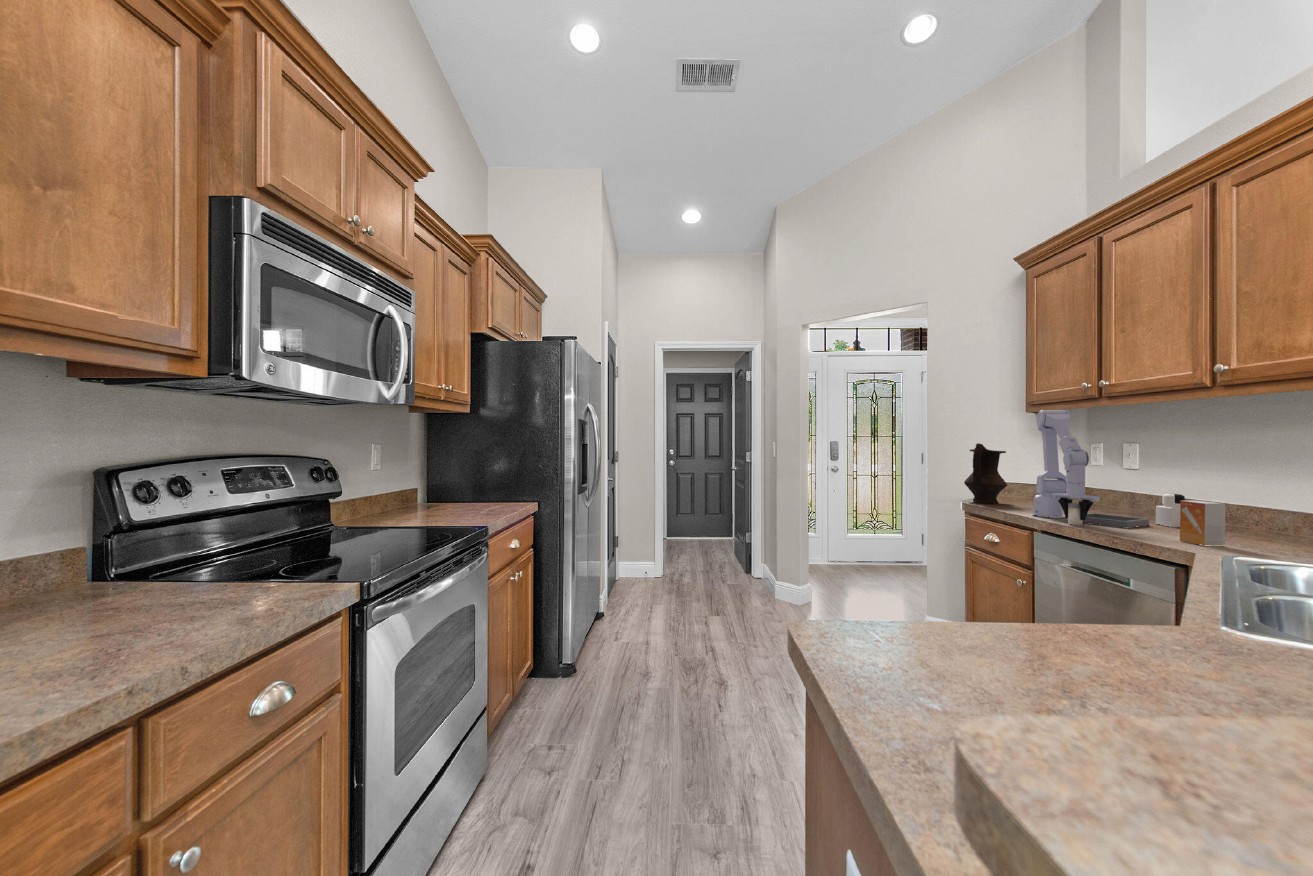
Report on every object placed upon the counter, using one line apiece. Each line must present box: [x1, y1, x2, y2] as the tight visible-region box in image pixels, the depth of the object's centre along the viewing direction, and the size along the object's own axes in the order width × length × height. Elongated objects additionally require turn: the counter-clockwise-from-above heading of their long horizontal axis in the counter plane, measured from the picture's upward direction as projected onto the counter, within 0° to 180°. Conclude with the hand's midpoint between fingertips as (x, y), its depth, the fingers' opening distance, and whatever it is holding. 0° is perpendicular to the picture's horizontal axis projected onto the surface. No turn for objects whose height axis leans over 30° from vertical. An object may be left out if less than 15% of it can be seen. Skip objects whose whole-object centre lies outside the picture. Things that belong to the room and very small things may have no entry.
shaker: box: [1067, 502, 1084, 526], centre depth 205 cm, size 5×5×8 cm
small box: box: [1179, 499, 1226, 545], centre depth 168 cm, size 8×6×13 cm
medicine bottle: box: [1155, 493, 1186, 528], centre depth 204 cm, size 7×7×12 cm
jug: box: [963, 442, 1008, 505], centre depth 274 cm, size 21×18×30 cm
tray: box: [1083, 512, 1150, 529], centre depth 208 cm, size 18×16×2 cm
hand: (1075, 519), depth 205 cm, fingers closed on shaker, 4 cm apart
